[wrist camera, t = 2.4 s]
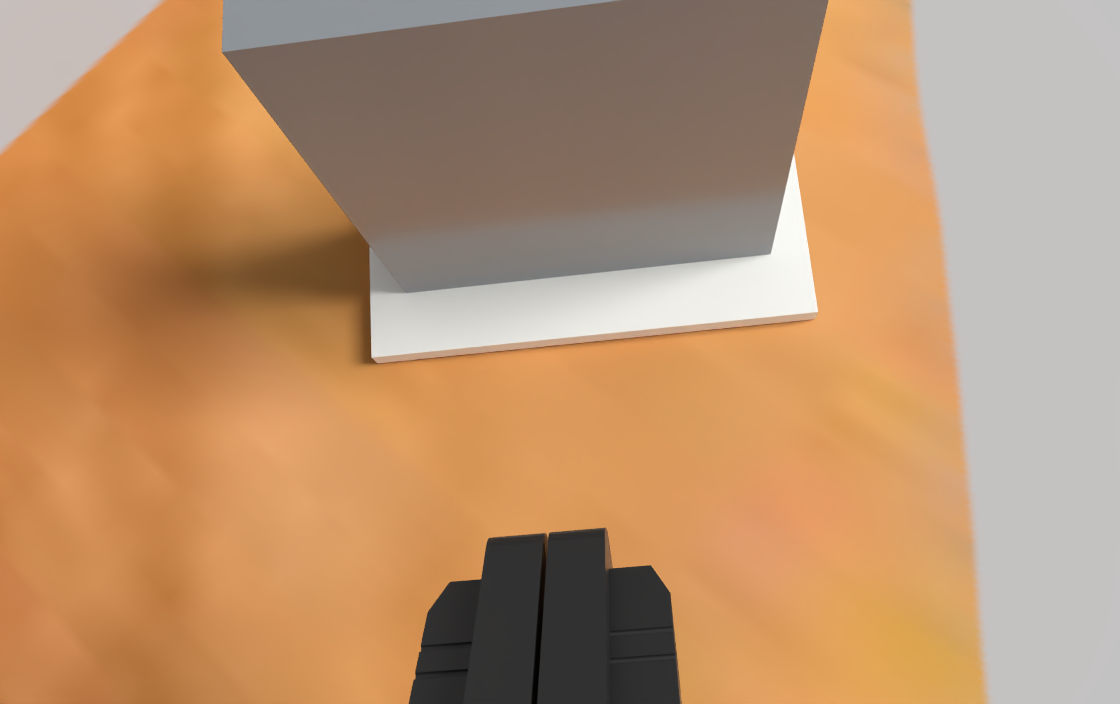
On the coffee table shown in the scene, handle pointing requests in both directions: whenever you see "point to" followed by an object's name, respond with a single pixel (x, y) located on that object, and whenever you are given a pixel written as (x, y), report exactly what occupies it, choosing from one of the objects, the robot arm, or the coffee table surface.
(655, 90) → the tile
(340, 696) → the coffee table surface
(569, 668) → the robot arm
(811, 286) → the mat
